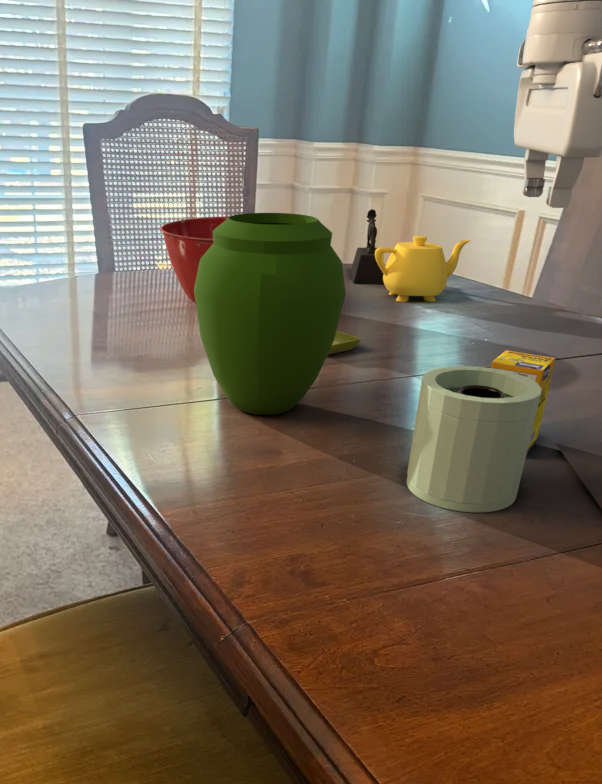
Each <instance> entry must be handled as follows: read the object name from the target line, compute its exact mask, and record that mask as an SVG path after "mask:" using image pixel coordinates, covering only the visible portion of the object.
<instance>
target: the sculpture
mask: <svg viewBox="0 0 602 784" xmlns="http://www.w3.org/2000/svg"><path fill="white" fill-rule="evenodd" d="M366 218H367V220H366V222H367V223H368V225H367V235H366V240H367V242H366V247H357V248H356V250H355V254H354V258H353V261H352V264H351V268H350V271H349V274H350V276H351V281H352V283H353V284H362V285H363V284H369V285H372V284H373V285H378V284H379V285H385V284H384V282H383V275H384V273H383V272H382V270H381V269H380V267H379V265H378V264H377V261H376V259H375V251H376V249H377V248H378V247H376V242H377V240H376V239H377V235H378V228H377V226H376V222H377V219H376V218H377V211H376V210H375V209H372V208H371V209H369V210H368V212H367V215H366ZM384 257H385V256H383V259H384ZM384 260H385V259H384Z"/></svg>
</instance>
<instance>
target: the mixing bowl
mask: <svg viewBox="0 0 602 784" xmlns="http://www.w3.org/2000/svg"><path fill="white" fill-rule="evenodd" d="M229 217H230V216H210V217H209V216H208V217H195V218H188V219H179V220H175V221H171V222H168V223H164V224H163V225H161V227H160V231H161V232H162V234H163V239H164V244H165V246H166V247H165V248H166V251H167V255H168V257H169V261H170V264H171V266H172V269H173V272H174V274H175V276H176V278H177V281H178V283H179V285H180V287H181V288H182V290H183V292H184V294H185V295H186V296H187V298H188V299H189V300H190V301H191V302H192V303H194V304H195V305H196V301H195V294H194V287H195V282H196V277H197V272H198V267H199V262H200V259H201V258H202V256H203V255H204V254H205V253H206V251H207V250H208V249H209V248H210V247H211V245H212V244H213V243H214V242H213V230H214V229H215V228H217V227H218V226H219V225H220V224H222V223H223V222H224V221H225V220H226V219H228V218H229Z"/></svg>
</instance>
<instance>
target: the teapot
mask: <svg viewBox="0 0 602 784" xmlns="http://www.w3.org/2000/svg"><path fill="white" fill-rule="evenodd" d="M412 239H413V241H400V242H398V243H396V244H395V247H386V246H381V247H376V248H377V249H376V251H375V259H376V261H377V264H378V265H379V267H380V269H381V270H382V272H383V273H384V275H383V282H384V284H383V285H384V286H385V288H386V290H387V291H389V293H388V295H389V296H397V297H396V299H395V301H396V302H400V303H405V302H408V301H409V298H410V296H411V297H412V296H413V297H414V296H415V297H416V296H418V297H419V296H420V297H423V301H425V302H429V303H430V302H431V303H432V302H433V303H434V302H436V301H437V300H436V297H435V296H439V295H441V293H443V291H444V290H445V288H446V286H447V282H448V278H449V277H450V276H452V275H453V274H454V272H455V270H456V269H457V267H458V263H459V258H460V255H461V251H462V249H463V248H464V246H466V244H469V242H470V241H472V239H471V238H470V239H465V240H461V241H458V242H457V243H456V244H455V245H454V246H453V249H452V252H451V255H450V257H449V259H448V260H447V261H446V257H445V253H444V251H443V247H442V246H441V245H439V244H437V243H434V242H428V241H427V240H428V237H427V236H425V235H415V236H413V237H412ZM386 253H388V254H390V255H389V257H388V259H387V261H386V263H385V259H383V257H384V255H385V254H386Z"/></svg>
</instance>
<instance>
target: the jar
mask: <svg viewBox="0 0 602 784" xmlns="http://www.w3.org/2000/svg"><path fill="white" fill-rule="evenodd" d="M469 385H481V386H488V387H492V388H496V389H498V390H500V391H502V392H503V393H504V395H505V397H504V398H481V397H474V396H467V395H463V394H459V393H458V390H459V389H460V388H461V387H464V386H469ZM541 391H542V388H541V387H540V386H539V385H538V383H536V382H534V381H533V380H531V379H529V378H527V377H524V376H521V375H519V374H516V373H513V372H508V371H504V370H499V369H493V368H491V367H485V366H472V365H457V366H456V365H455V366H444V367H439V368H434V369H431V370H429V371H427V372H425V373H424V375H423V376H422V378H421V383H420V390H419V395H418V402H417V409H416V413H415V421H414V428H413V434H412V440H411V447H410V448H411V449H410V453H409V459H408V465H407V472H406V473H407V475H406V476H407V477H406V486H407V488H408V490H409V491H410V493H412V494H413V495H414V496H416V498H418V499H420V500H422V501H424V502H425V503H428V504H430V505H433V506H435V507H439V508H442V509H446V510H451V511H455V512H461V513H462V512H463V513H477V514H478V513H480V514H481V513H493V512H497V511H502V510H504V509H506V508H509V507H510V506H512V504H514V502H515V501H516V499H517V496H518V492H519V487H520V484H521V479H522V475H523V471H524V468H525V462H526V459H527V455H528V454H527V450H528V446H529V442H530V438H531V433H532V429H533V425H534V421H535V417H536V412H537V408H538V404H539V400H540V395H541Z"/></svg>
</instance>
